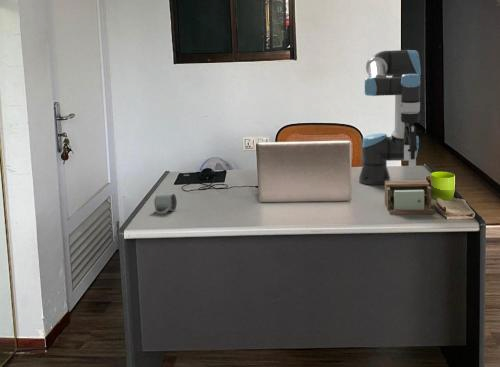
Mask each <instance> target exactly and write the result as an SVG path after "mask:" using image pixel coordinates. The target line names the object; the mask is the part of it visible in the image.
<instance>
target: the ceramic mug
mask: <svg viewBox="0 0 500 367" xmlns="http://www.w3.org/2000/svg"><path fill="white" fill-rule="evenodd" d="M177 200H178V199H177V196H176V194H175V193H161V194H157V195H156V196H155V198H154V210H155V212H156V214H157V215H164V214H167V213H168V212H175V211H176V209H177V204H178V203H177V202H178V201H177Z"/></svg>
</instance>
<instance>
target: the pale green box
mask: <svg viewBox="0 0 500 367" xmlns="http://www.w3.org/2000/svg"><path fill="white" fill-rule="evenodd" d="M394 210H424V190H394Z"/></svg>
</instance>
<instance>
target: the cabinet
mask: <svg viewBox="0 0 500 367" xmlns="http://www.w3.org/2000/svg"><path fill="white" fill-rule="evenodd" d="M394 190H424V210H394ZM384 206H385V207H386V209H387V211H389V215H419V214H420V215H421V214H423V215H424V214H427V215H428V214H434V213H435V209H432V188H431V186H430V182H429V181H428V179H416V180H413V179H411V180H409V179H408V180H390V181H385V184H384Z"/></svg>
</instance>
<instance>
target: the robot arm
mask: <svg viewBox="0 0 500 367" xmlns="http://www.w3.org/2000/svg"><path fill="white" fill-rule="evenodd" d="M420 62H421V60H420V54H419V52H418V50H415V49H413V50H412V49H401V50H399V49H398V50H382V51H379V52H376V53H375V54H373V55H371V57H370V58H368V60H367V61H366V65H365V70H366V73H367V74H368V77H366V78H365V79H364V95H365V96H372V97H377V96H380V97H381V96H395V97H394V98H395V99H394V130H393V131H392V132H391V136H388V135H387V134H386V133H383V132H382V133H373V134H369V135H366V136H364V137H363V138H362V146H361V147H362V166H361V169H360V173H359V176H358V182H359V183H361V184H363V185H371V186H373V185H375V186H376V185H385V181H391V176H390V172H389V170H388V165H387V161H389V162H390V161H401V162H402V161H403V162H404V161H405V162H407V161H408V168H416V167H417V156H418V154H419V153H418V150H419V143H420V139H419V136H418V135H417V133H416V132H417V127H416V126H415V123H419V122H420V121H421V120H420V119H421V116H420V114H421V113H420V111H421V100H420V99H421V84H422V83H421V74H422V73H421V72H422V70H421V63H420Z"/></svg>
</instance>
